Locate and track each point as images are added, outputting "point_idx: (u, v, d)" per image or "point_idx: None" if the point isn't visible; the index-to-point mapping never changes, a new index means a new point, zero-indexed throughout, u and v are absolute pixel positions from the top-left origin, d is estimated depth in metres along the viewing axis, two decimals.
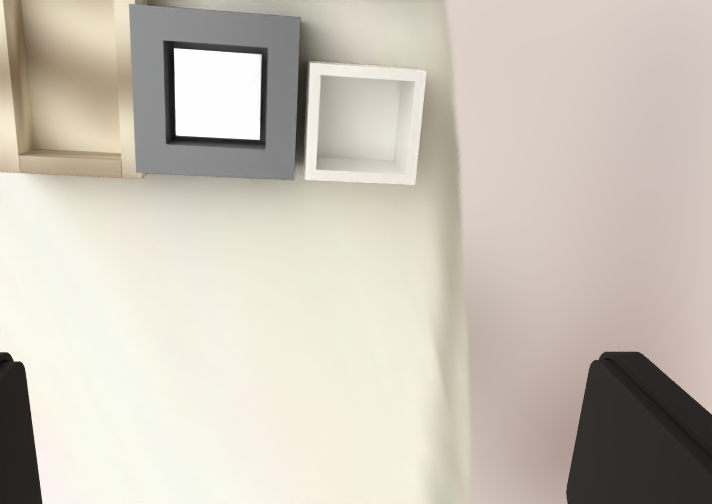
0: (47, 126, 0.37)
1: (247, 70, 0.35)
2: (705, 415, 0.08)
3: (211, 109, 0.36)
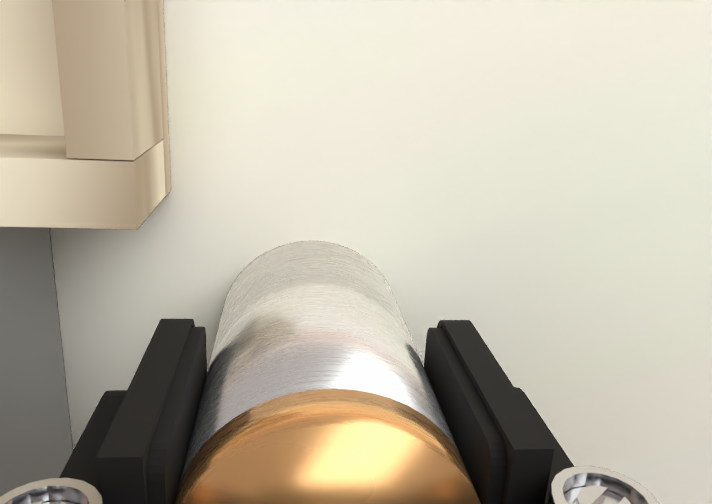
0: None
1: None
2: (497, 371, 0.09)
3: None
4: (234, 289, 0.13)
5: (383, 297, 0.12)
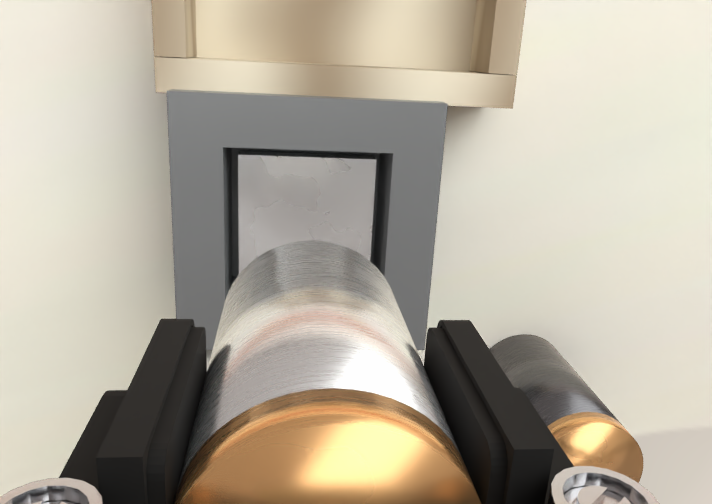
0: None
1: None
2: (497, 372, 0.09)
3: (283, 212, 0.22)
4: (234, 289, 0.13)
5: (383, 297, 0.12)
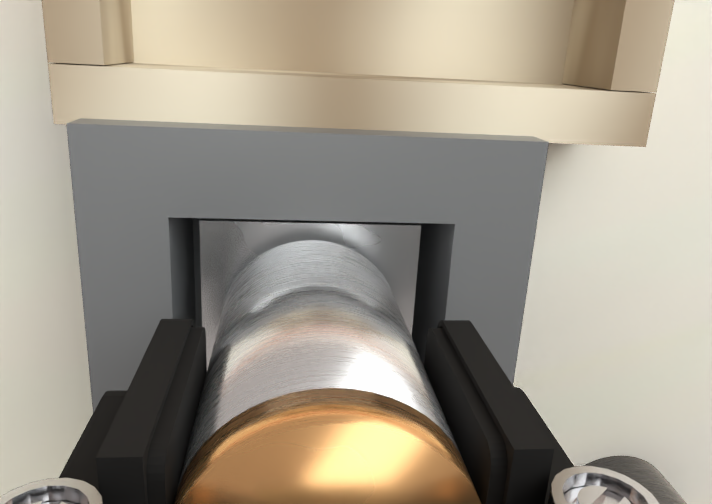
0: None
1: None
2: (497, 372, 0.09)
3: None
4: (234, 288, 0.13)
5: (383, 296, 0.12)
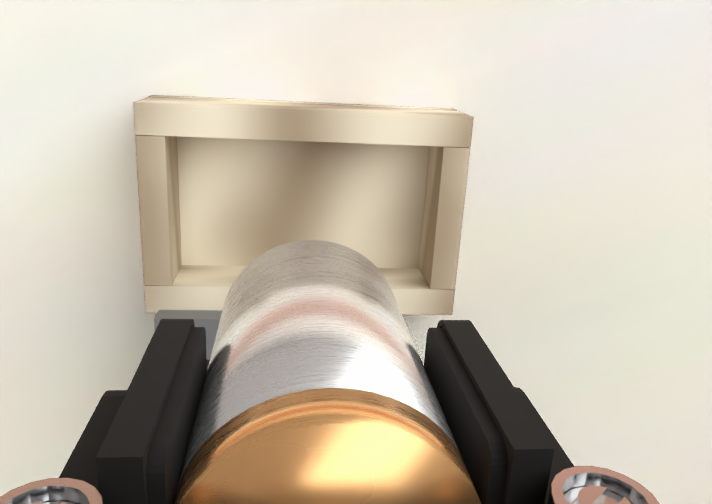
0: (213, 150, 0.24)
1: None
2: (497, 372, 0.09)
3: None
4: (234, 288, 0.13)
5: (383, 296, 0.12)
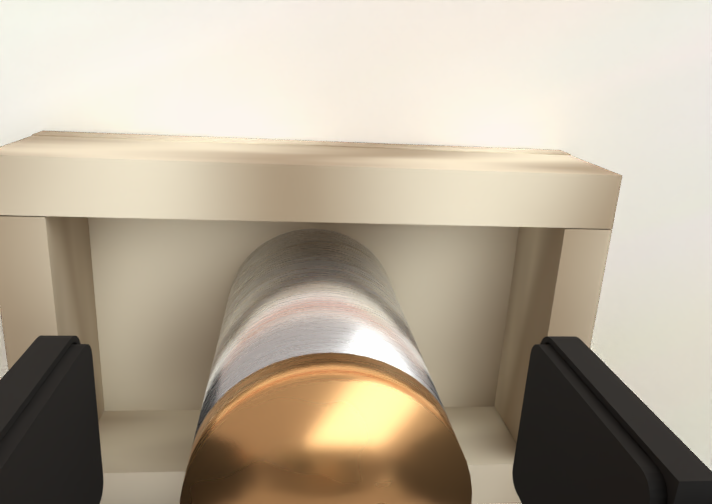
0: (152, 226, 0.14)
1: None
2: (627, 393, 0.09)
3: None
4: (240, 273, 0.14)
5: (379, 279, 0.13)
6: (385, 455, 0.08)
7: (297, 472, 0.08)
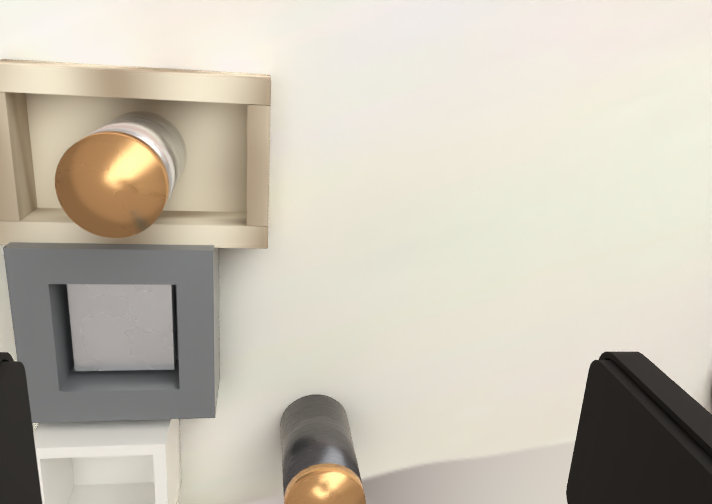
0: (59, 107, 0.29)
1: (154, 356, 0.31)
2: (705, 415, 0.08)
3: (104, 320, 0.30)
4: None
5: (164, 128, 0.28)
6: (130, 164, 0.23)
7: (97, 170, 0.23)
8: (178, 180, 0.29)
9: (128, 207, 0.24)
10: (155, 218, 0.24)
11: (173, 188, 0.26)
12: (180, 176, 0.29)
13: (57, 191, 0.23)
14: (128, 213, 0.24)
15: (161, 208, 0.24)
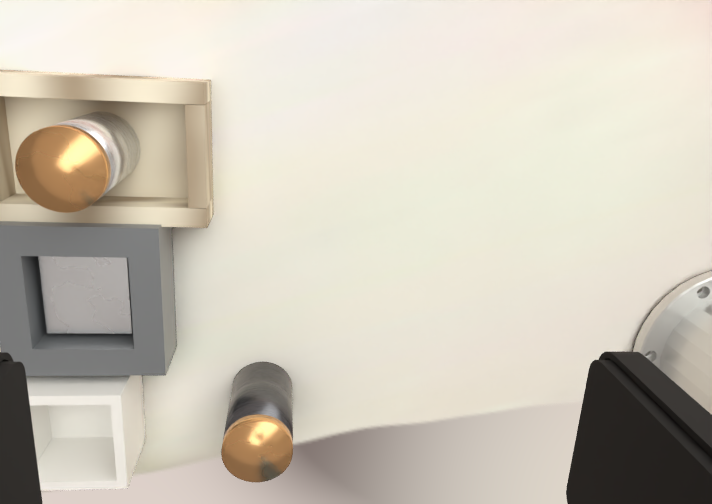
0: (32, 108, 0.34)
1: (114, 321, 0.36)
2: (705, 415, 0.08)
3: (70, 289, 0.36)
4: None
5: (115, 125, 0.33)
6: (75, 151, 0.28)
7: (49, 156, 0.28)
8: (130, 169, 0.34)
9: (75, 187, 0.29)
10: (97, 196, 0.29)
11: (119, 174, 0.32)
12: (132, 166, 0.34)
13: (17, 173, 0.28)
14: (75, 192, 0.29)
15: (102, 188, 0.29)
